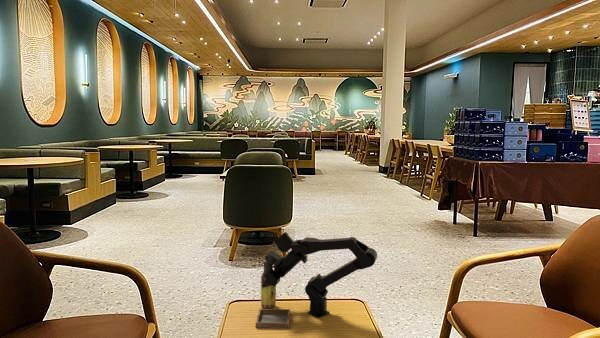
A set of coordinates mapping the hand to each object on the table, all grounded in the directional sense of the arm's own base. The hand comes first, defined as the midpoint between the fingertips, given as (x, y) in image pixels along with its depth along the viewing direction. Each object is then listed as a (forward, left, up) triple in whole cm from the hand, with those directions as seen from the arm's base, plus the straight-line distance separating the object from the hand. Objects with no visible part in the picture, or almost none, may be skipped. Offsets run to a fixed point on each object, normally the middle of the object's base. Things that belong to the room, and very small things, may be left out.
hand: (265, 284), depth 188 cm
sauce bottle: (-1, +1, -10) cm, 10 cm away
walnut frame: (+6, +13, -10) cm, 17 cm away
